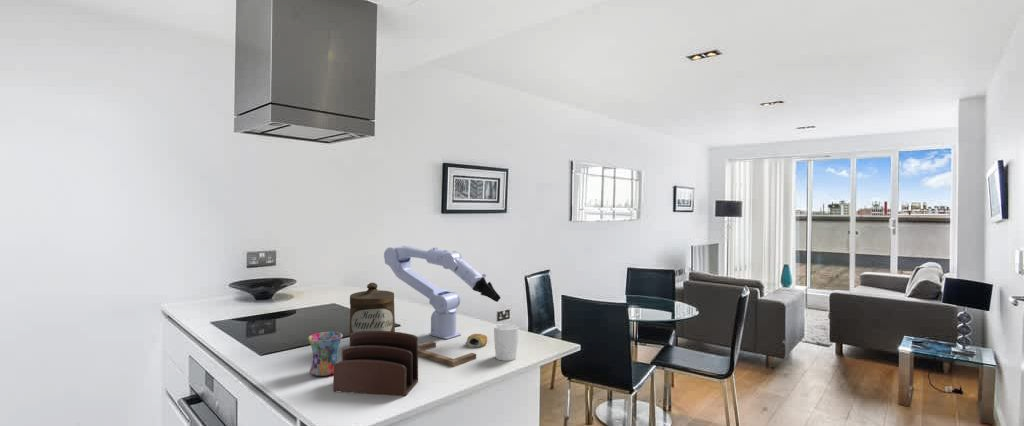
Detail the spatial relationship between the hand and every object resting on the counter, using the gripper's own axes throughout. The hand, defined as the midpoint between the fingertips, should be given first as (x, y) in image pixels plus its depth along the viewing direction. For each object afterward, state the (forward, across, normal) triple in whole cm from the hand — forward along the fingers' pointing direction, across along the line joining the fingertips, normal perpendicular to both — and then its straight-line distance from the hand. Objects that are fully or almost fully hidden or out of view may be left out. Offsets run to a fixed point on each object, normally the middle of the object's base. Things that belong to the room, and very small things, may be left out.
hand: (496, 298), depth 165 cm
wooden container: (-21, -8, +40) cm, 45 cm away
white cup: (+17, -8, +12) cm, 23 cm away
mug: (-17, -31, +46) cm, 58 cm away
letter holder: (+1, -38, +37) cm, 53 cm away
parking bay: (+1, -11, +25) cm, 27 cm away
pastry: (+4, +3, +17) cm, 18 cm away
